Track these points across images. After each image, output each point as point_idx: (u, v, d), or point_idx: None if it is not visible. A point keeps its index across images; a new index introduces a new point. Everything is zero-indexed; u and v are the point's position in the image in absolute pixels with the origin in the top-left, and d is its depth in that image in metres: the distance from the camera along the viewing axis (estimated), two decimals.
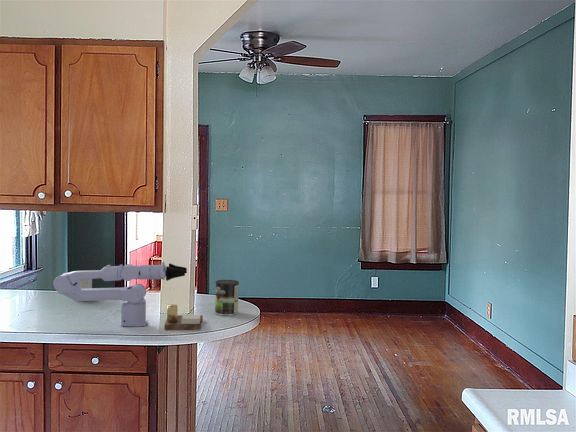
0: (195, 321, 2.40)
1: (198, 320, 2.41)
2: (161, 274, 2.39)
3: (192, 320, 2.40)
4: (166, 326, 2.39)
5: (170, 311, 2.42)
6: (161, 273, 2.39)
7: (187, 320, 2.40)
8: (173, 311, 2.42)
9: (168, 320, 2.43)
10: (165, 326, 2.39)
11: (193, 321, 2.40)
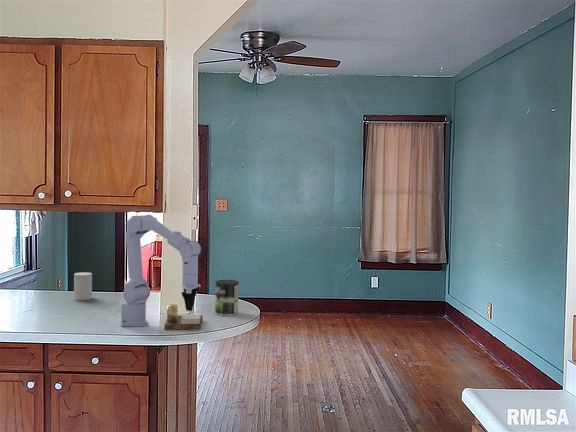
0: (195, 321, 2.40)
1: (198, 320, 2.41)
2: (188, 289, 2.27)
3: (192, 320, 2.40)
4: (166, 326, 2.39)
5: (170, 311, 2.42)
6: (189, 289, 2.27)
7: (187, 320, 2.40)
8: (173, 311, 2.42)
9: (168, 320, 2.43)
10: (165, 326, 2.39)
11: (193, 321, 2.40)
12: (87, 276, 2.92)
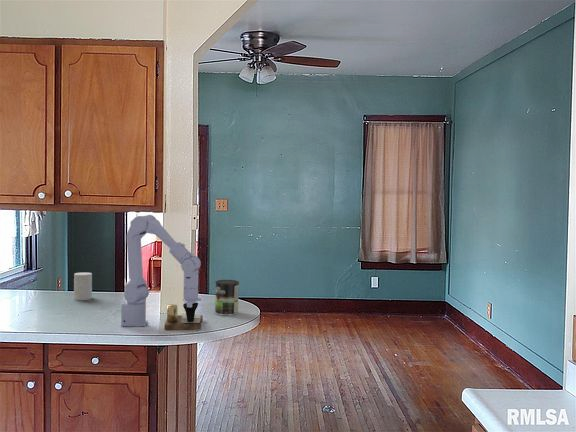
0: (195, 320, 2.42)
1: (198, 319, 2.42)
2: (189, 303, 2.33)
3: None
4: (166, 326, 2.39)
5: (170, 311, 2.42)
6: (190, 303, 2.33)
7: None
8: (173, 311, 2.42)
9: (168, 320, 2.43)
10: (165, 326, 2.39)
11: None
12: (87, 276, 2.92)
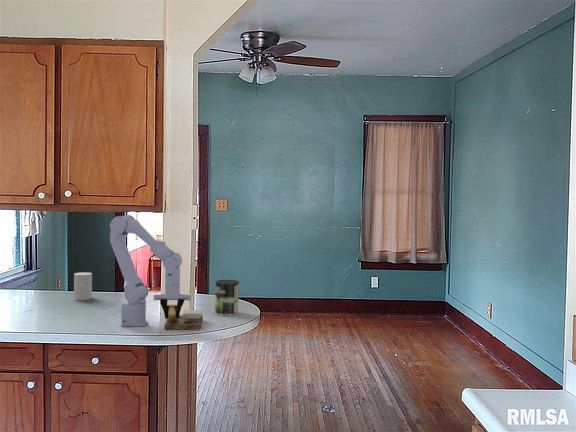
0: (196, 316, 2.49)
1: (199, 315, 2.50)
2: None
3: (193, 315, 2.49)
4: (166, 326, 2.39)
5: (170, 311, 2.42)
6: None
7: (189, 315, 2.49)
8: (173, 311, 2.42)
9: (168, 320, 2.43)
10: (165, 326, 2.39)
11: (194, 316, 2.49)
12: (87, 276, 2.92)
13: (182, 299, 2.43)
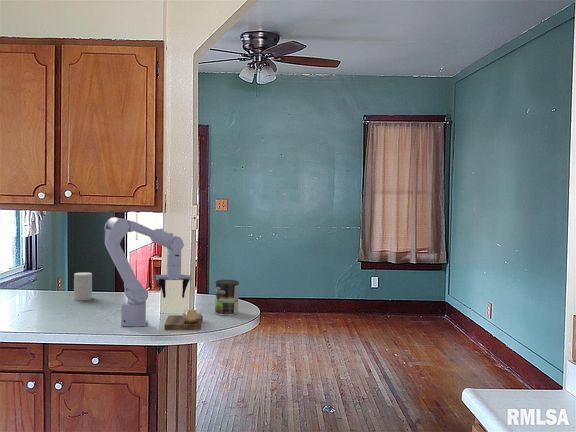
0: (196, 316, 2.49)
1: (199, 315, 2.50)
2: (156, 276, 2.54)
3: None
4: (166, 326, 2.39)
5: (189, 317, 2.42)
6: (156, 276, 2.54)
7: None
8: (192, 316, 2.42)
9: None
10: (165, 326, 2.39)
11: None
12: (87, 276, 2.92)
13: (183, 279, 2.55)
